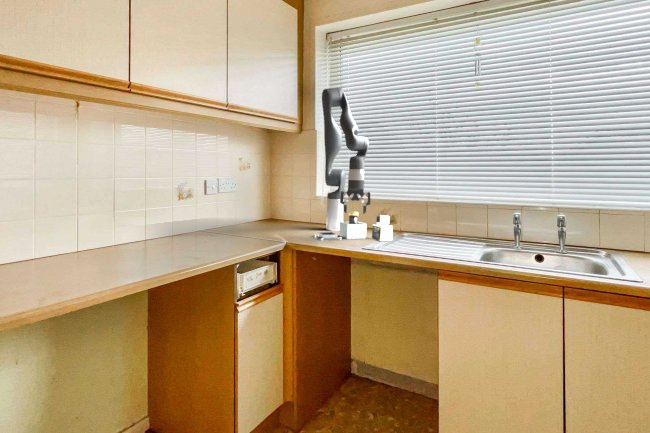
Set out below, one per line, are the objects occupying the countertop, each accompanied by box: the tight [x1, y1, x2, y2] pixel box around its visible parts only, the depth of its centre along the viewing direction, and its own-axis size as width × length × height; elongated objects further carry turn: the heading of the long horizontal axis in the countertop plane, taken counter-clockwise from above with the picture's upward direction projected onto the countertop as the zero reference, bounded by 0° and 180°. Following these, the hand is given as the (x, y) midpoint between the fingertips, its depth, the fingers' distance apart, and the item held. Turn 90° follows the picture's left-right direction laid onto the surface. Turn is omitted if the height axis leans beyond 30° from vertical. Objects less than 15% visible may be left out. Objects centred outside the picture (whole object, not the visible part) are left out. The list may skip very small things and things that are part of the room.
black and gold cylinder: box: [348, 211, 360, 224], centre depth 182 cm, size 5×5×13 cm
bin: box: [338, 221, 368, 240], centre depth 182 cm, size 9×10×8 cm
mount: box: [311, 231, 345, 242], centre depth 178 cm, size 12×12×3 cm
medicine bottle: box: [371, 214, 394, 242], centre depth 184 cm, size 7×7×12 cm
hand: (354, 213), depth 182 cm, fingers open, 8 cm apart
